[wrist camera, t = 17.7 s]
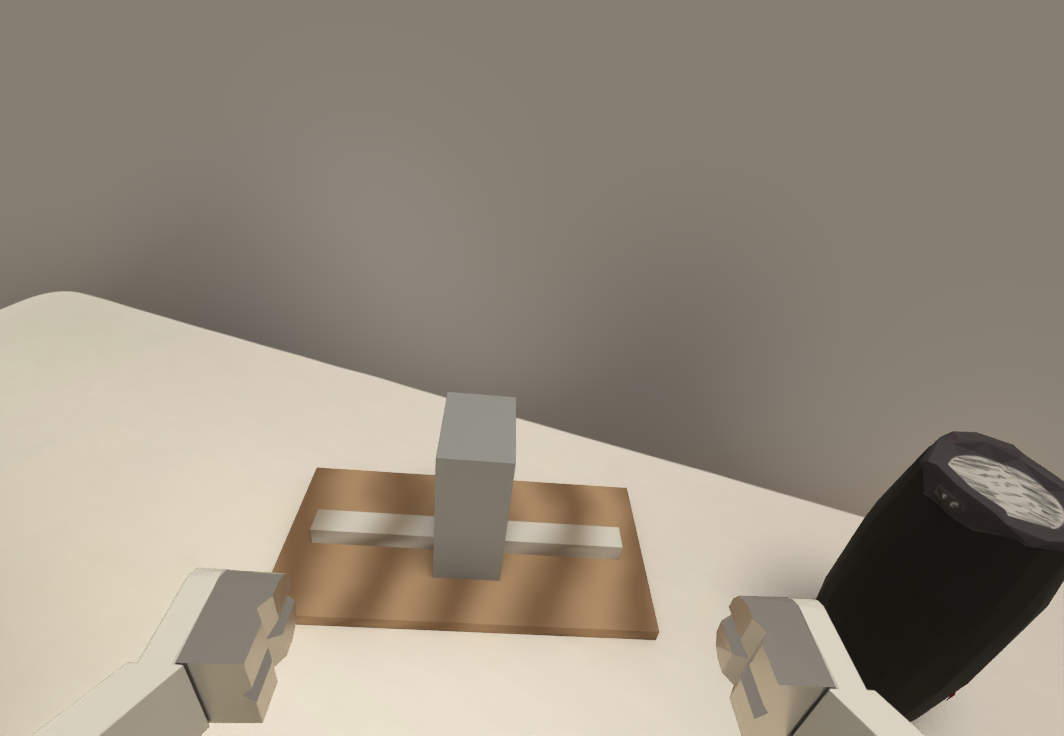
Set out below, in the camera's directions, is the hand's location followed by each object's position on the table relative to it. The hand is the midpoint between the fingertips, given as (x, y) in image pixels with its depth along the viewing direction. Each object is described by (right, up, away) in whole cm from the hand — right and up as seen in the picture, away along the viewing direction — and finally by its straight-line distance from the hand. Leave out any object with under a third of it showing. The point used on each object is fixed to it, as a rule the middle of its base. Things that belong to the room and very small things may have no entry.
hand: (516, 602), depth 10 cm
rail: (-5, -10, +34) cm, 36 cm away
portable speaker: (+23, -18, +29) cm, 41 cm away
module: (-5, -9, +34) cm, 36 cm away
